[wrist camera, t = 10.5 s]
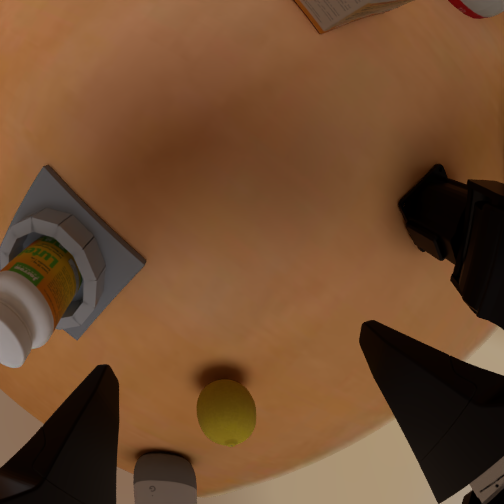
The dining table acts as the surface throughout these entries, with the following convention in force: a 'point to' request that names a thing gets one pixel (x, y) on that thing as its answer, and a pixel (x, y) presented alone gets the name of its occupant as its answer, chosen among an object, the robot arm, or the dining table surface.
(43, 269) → the supplement bottle
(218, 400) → the lemon
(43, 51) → the dining table surface
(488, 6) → the kitchen timer
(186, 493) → the smart speaker
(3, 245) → the holder
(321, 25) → the supplement box
